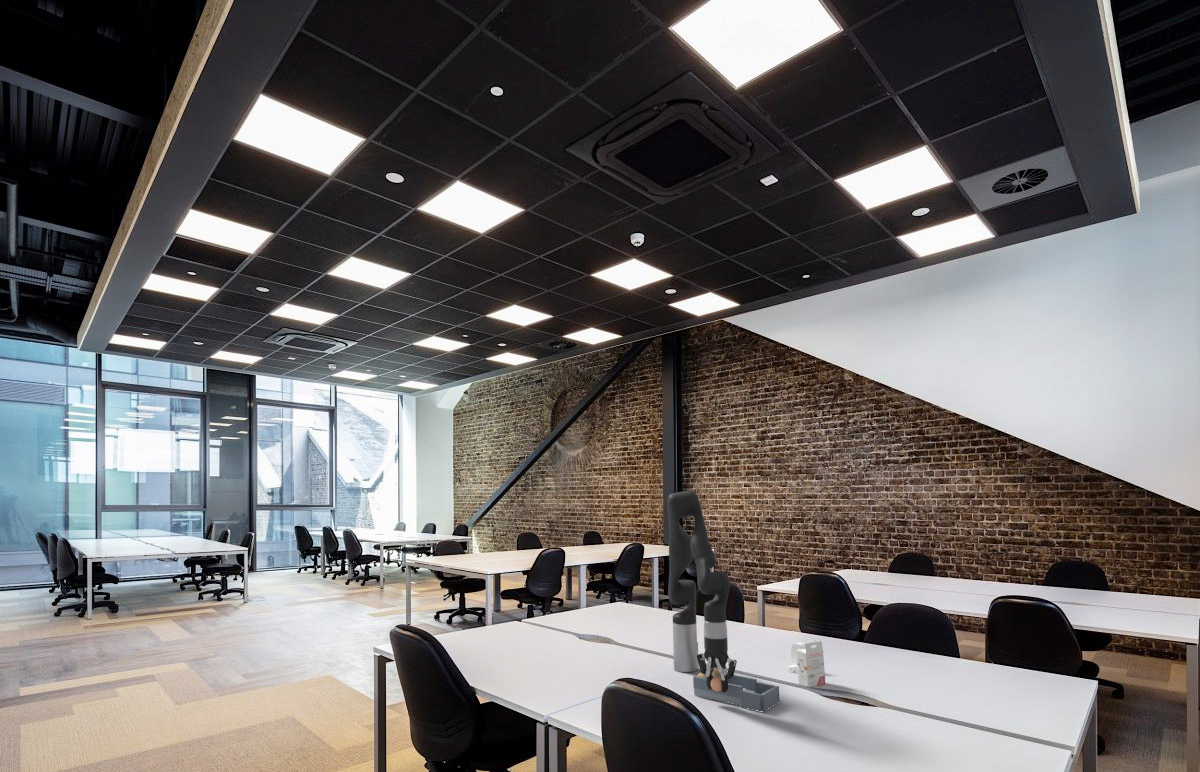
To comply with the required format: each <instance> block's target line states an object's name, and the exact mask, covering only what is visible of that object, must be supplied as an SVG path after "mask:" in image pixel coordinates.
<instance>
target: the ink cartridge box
mask: <svg viewBox="0 0 1200 772" xmlns="http://www.w3.org/2000/svg"><path fill="white" fill-rule="evenodd" d="M804 644H805V648H806V649H800V650H796V651H797V666H798V674H797V678H798V685H799V686H802V687H806V688H808V689H810V688H814V687H818V686H823V685H826V673H825V657H824V650H823V649H824V648H823V642H822V640H819V641H813V642H807V643H804ZM812 646H813V647H812ZM814 646H815V647H814Z"/></svg>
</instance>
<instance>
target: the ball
mask: <svg viewBox="0 0 1200 772" xmlns="http://www.w3.org/2000/svg"><path fill="white" fill-rule="evenodd" d="M721 680H722V678H720V677H714V678H712V680H711V683H710V684H711V688H712V689H713V690H714V691H717V692H718V691H721V690H722V687H721Z"/></svg>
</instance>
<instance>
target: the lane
mask: <svg viewBox="0 0 1200 772" xmlns="http://www.w3.org/2000/svg"><path fill="white" fill-rule="evenodd" d="M692 680H693V682H692V683H693V687H692V688H693V692H694V696H695V695H696V696H697V697H699V696H700V698H704V699H709V700H712V699H714V700H713V701H716V700H719V701H718V702H721V701H724V702H723V703H725V702H729V703H733V704H737V705H741V706H740V708H741V707H745V708H749V709H754V710H758V711H765V710H767V709H768V708H770V707H772V706H773V705H775V704H777V703H778V702H780V703H781V700H780V686H779V685H774V684H769V683H765V682H759V681H758V680H757V678H753V677H748V676H743V675H737V674H734V676H733V678H731V679H729V680H728V690H727V691H726V692H722V690H721V691H718V692H717V691H714V690H713V689H708V687H707V679H706V678H702V677H697V675H694V676H692ZM729 703H728V704H729ZM733 704H732V705H733ZM778 704H779V703H778ZM778 704H777V705H778ZM737 705H736V706H737ZM775 706H776V705H775ZM773 707H774V706H773ZM773 707H772V708H773ZM745 708H744V709H745ZM749 709H748V710H749ZM770 709H771V708H770ZM758 711H757V712H758ZM767 711H768V710H767ZM765 712H766V711H765Z"/></svg>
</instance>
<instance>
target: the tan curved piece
mask: <svg viewBox="0 0 1200 772" xmlns="http://www.w3.org/2000/svg"><path fill="white" fill-rule="evenodd" d="M696 676H697V677H702V678H706V679H707V677H706V675H705V674H702V673H701V672H699V673H698V674H697V675H696ZM712 676H713V678H714V677H720V678H721V675H720V673H719V671H718V669H717V668H714V670H713V674H712Z"/></svg>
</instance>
